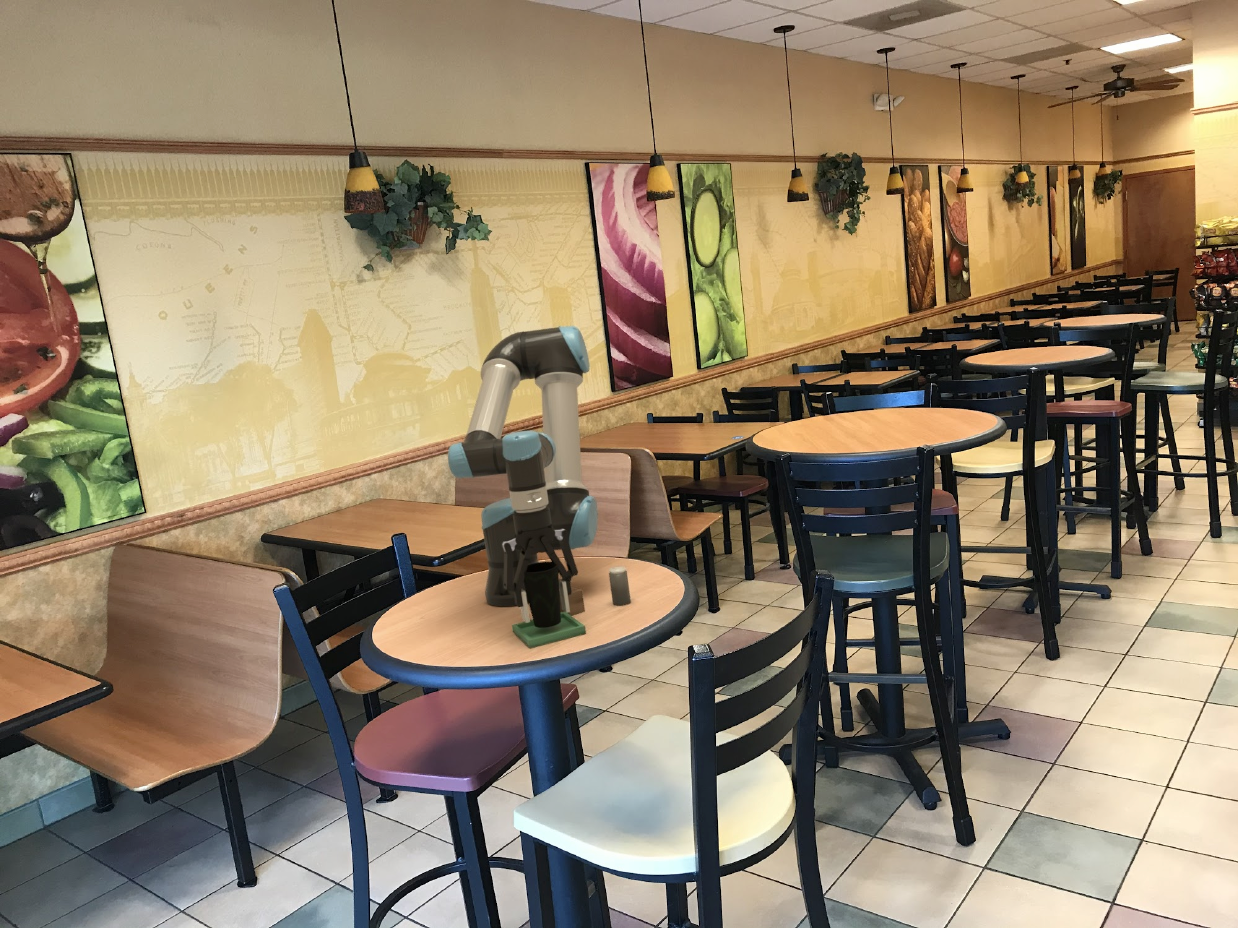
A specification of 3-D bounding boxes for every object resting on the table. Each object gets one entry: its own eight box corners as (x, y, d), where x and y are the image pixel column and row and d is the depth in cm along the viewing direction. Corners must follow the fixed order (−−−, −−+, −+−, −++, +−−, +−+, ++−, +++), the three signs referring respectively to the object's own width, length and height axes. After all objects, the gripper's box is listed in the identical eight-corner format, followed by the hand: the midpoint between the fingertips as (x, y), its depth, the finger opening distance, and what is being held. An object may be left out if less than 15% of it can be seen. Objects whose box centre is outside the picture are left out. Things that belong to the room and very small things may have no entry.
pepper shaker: (610, 602, 208) (605, 568, 206) (626, 598, 209) (622, 565, 208) (617, 607, 204) (612, 572, 203) (633, 602, 205) (629, 568, 204)
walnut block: (559, 613, 205) (556, 591, 204) (574, 608, 207) (571, 586, 206) (570, 617, 201) (566, 594, 201) (585, 611, 204) (582, 589, 203)
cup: (560, 628, 188) (552, 571, 186) (524, 630, 190) (515, 573, 188) (570, 615, 195) (562, 560, 193) (535, 617, 197) (527, 562, 195)
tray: (512, 632, 196) (511, 624, 196) (566, 618, 201) (565, 611, 200) (529, 648, 185) (528, 640, 185) (586, 633, 190) (585, 625, 189)
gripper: (485, 521, 181) (502, 632, 185) (585, 500, 189) (599, 608, 193) (475, 515, 188) (492, 623, 192) (572, 495, 196) (586, 599, 200)
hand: (546, 615), depth 192 cm, fingers open, 8 cm apart
